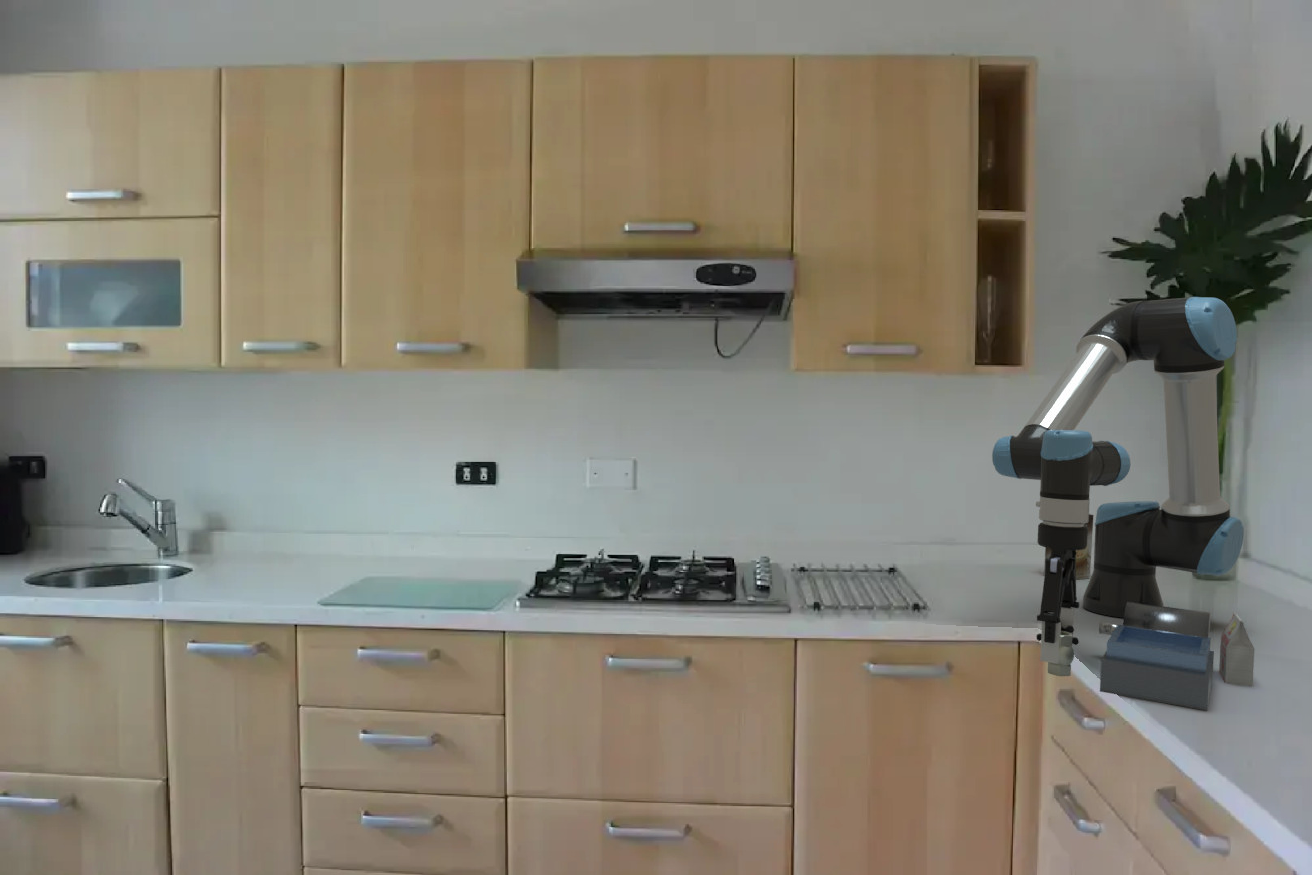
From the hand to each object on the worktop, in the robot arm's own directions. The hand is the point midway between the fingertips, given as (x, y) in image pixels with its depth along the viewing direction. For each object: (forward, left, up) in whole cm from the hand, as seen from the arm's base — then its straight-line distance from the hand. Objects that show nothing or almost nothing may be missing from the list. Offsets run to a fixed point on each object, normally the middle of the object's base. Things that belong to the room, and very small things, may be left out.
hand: (1056, 653), depth 153 cm
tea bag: (-10, +25, -2) cm, 27 cm away
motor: (-2, +14, -2) cm, 14 cm away
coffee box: (-83, -12, -2) cm, 84 cm away
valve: (+1, 0, -2) cm, 2 cm away
